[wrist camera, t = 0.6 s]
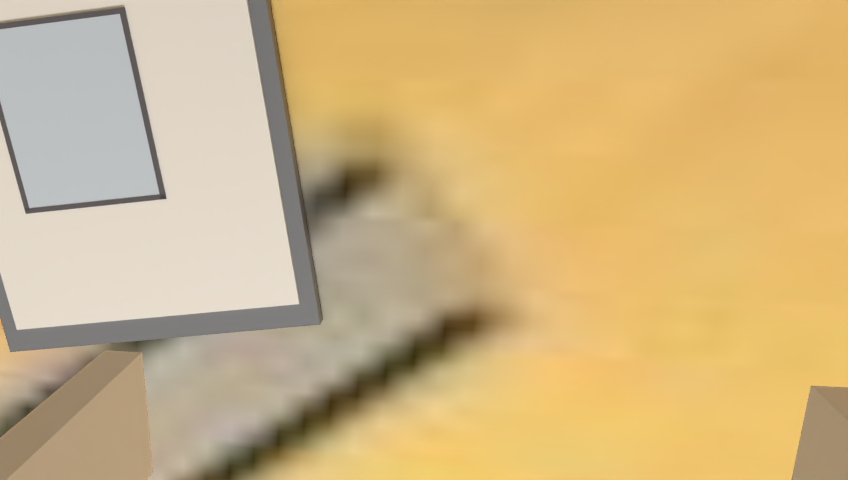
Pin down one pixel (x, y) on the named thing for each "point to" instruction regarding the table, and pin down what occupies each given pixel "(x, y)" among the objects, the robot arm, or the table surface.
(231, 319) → the sheet
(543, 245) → the table surface
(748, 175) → the table surface
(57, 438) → the robot arm
